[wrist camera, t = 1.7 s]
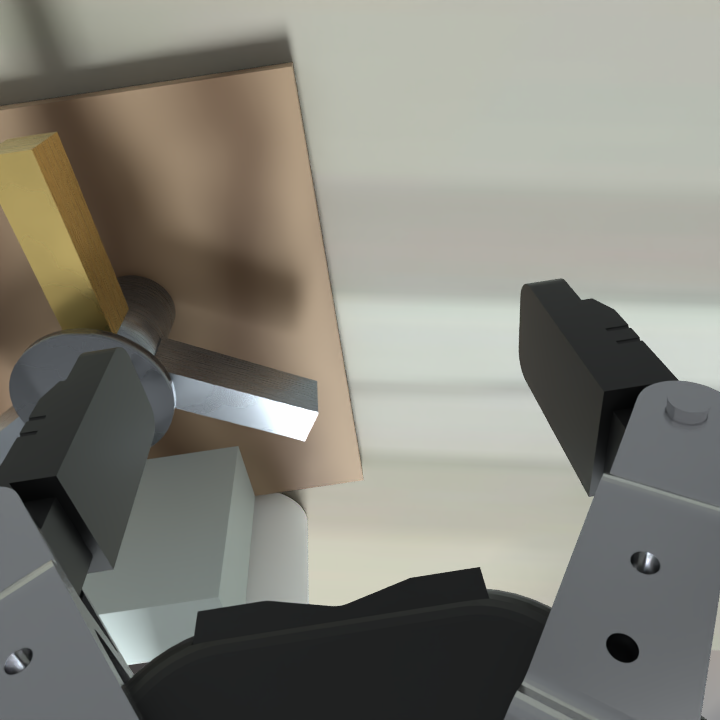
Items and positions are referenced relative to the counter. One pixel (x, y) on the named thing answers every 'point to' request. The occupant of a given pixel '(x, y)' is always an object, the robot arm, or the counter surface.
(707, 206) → the counter surface
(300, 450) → the walnut board
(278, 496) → the cylindrical container
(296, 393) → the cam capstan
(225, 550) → the stand
